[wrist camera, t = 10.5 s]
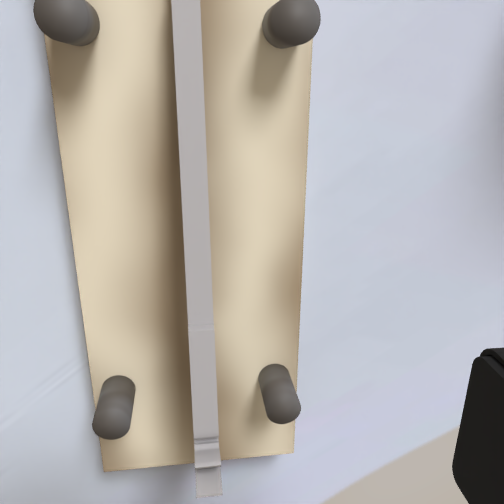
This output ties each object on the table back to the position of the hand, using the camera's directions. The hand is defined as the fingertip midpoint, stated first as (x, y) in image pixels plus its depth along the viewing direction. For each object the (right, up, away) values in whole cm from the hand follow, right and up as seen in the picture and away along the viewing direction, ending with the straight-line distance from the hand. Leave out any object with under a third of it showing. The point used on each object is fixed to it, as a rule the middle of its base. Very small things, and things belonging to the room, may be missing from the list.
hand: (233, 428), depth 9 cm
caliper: (-2, +5, +12) cm, 13 cm away
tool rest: (-3, +5, +14) cm, 15 cm away
